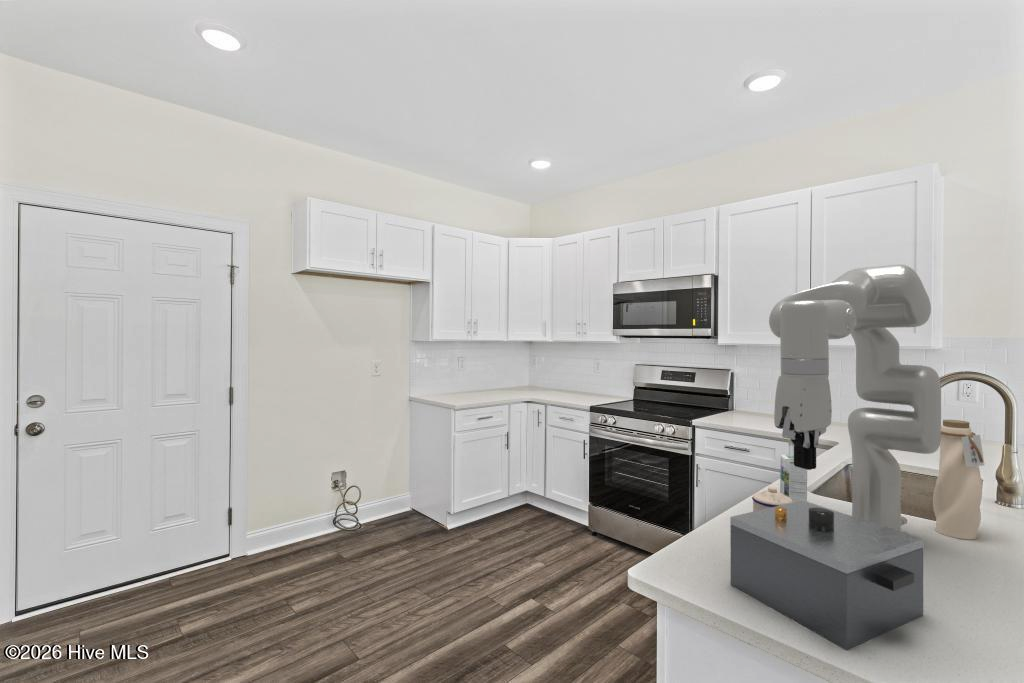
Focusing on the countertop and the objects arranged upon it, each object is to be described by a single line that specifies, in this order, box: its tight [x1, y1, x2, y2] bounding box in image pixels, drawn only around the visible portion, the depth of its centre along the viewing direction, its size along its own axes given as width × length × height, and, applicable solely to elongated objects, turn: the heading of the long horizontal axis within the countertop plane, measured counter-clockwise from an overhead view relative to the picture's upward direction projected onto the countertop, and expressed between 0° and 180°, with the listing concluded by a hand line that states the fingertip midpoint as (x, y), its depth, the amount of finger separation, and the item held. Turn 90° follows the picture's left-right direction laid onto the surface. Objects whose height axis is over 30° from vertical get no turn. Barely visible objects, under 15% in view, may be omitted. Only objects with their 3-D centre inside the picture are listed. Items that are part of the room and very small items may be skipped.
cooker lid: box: [729, 500, 924, 574], centre depth 90 cm, size 22×22×4 cm
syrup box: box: [779, 454, 808, 502], centre depth 138 cm, size 6×6×14 cm
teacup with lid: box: [751, 486, 793, 512], centre depth 120 cm, size 12×9×12 cm
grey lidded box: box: [729, 524, 924, 651], centre depth 90 cm, size 22×27×12 cm
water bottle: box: [932, 419, 985, 540], centre depth 118 cm, size 10×9×28 cm
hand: (804, 467), depth 88 cm, fingers closed
